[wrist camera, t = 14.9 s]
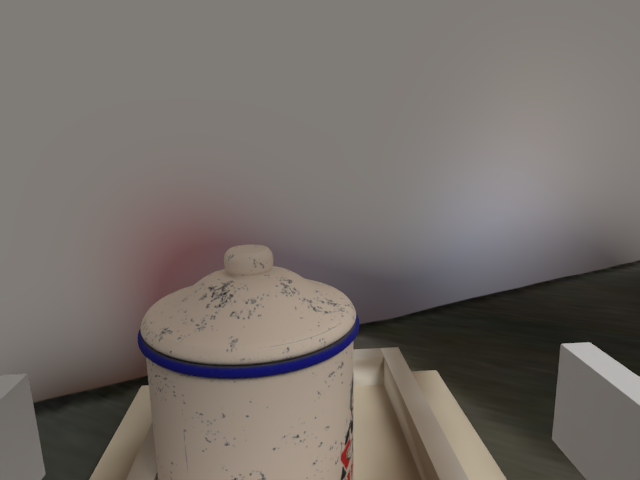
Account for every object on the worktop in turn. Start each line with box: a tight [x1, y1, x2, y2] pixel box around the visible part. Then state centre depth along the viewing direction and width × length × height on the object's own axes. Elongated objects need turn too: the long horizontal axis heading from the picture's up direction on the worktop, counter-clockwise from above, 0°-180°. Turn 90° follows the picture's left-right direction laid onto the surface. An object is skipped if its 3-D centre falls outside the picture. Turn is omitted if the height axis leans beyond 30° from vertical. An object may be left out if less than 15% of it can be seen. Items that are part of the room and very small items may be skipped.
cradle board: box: [89, 347, 507, 480], centre depth 24 cm, size 20×18×4 cm
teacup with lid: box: [138, 245, 359, 480], centre depth 22 cm, size 12×9×12 cm
